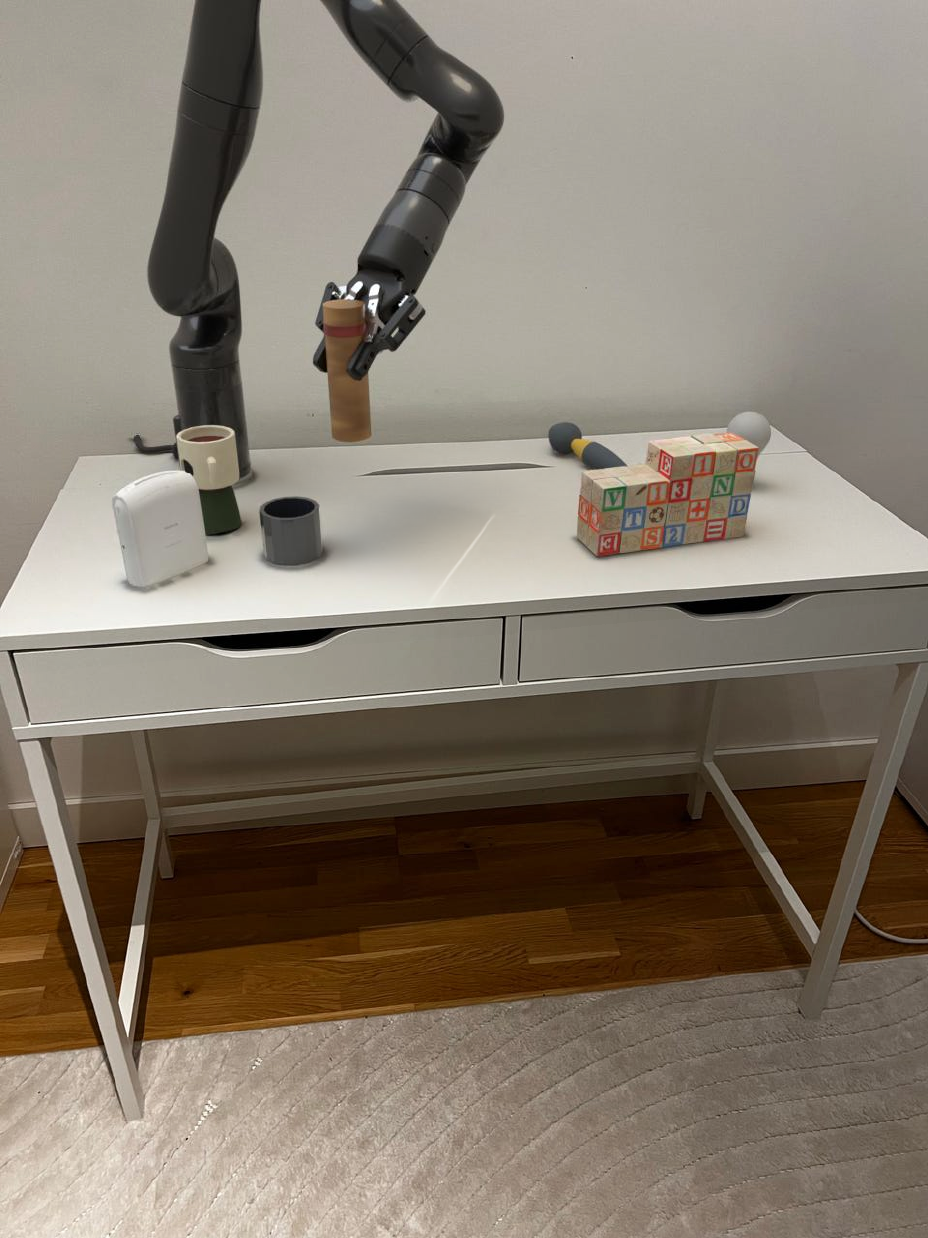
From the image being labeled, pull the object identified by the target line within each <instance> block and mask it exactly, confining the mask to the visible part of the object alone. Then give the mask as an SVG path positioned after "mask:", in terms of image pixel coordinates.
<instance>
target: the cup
mask: <svg viewBox="0 0 928 1238" xmlns="http://www.w3.org/2000/svg"><path fill="white" fill-rule="evenodd" d="M258 513H259V521H260V522H259V523H260V532H261V540H262V541H261V542H262V550H263V556H264V558H265V559H266V561H267V562H269V563H272V564H274V565H277V566H285V567H287V566H288V567H290V566H291V567H293V566H301V565H306V564H309V563H312V562H314V561H317V560H318V559H320V557H321V556H322V555H323V549H324V548H323V536H322V522H321V508H320V504H319V503H318V502H317V501H316V500H314V499H313V498H312V499H311V498H310V497H304V496H296V495H295V496H283V497H282V496H281V497H277V498H273V499H269V500H267V501H266V502H264V503H262V504H261V505H260V507H259V511H258Z"/></svg>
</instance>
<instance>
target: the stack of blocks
mask: <svg viewBox="0 0 928 1238" xmlns="http://www.w3.org/2000/svg"><path fill="white" fill-rule="evenodd" d="M758 450H759V448H758V447H757V446H755V445H753V444H752V443H750V442H748V441H747V440H744V439H743V438H741V437H739V436H737V435H735V434H733V433H726V432H723V433H714V434H713V433H710V432H709V433H700V434H693V435H691V436H689V435H687V436H678V437H671V438H665V439H664V438H663V439H655V440H649V441H648V442H647V450H646V457H645V458H646V459H645V463H642V464H635V465H634V464H633V465H627V466H622V467H614V468H605V469H598V470H595V469H590V470H582V471H581V479H580V489H579V490H580V491H579V497H578V509H577V524H576V525H577V526H576V538H577V539H578V540H579V541H580V542H581V543H582V544H583V545H585V546H586V548H587V549H588V550H589V551H591V552H592V554H594V555H595V556H596V557H601V556H609V555H615V554H625V553H633V552H638V551H646V550H654V549H661V548H665V547H673V546H680V545H688V544H695V543H701V542H710V541H718V540H726V539H733V538H734V539H735V538H742V537H744V536H745V533H746V526H747V522H748V512H749V507H750V502H751V497H752V492H753V488H754V483H755V479H756V472H757V471H756V466H757V461H758V458H757V456H758Z"/></svg>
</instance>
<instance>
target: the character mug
mask: <svg viewBox="0 0 928 1238" xmlns="http://www.w3.org/2000/svg"><path fill="white" fill-rule="evenodd" d="M176 438H177V445H178V452H179V458H178V461H179V460H180V465H179V469H180V468H181V471H185V472H186V473H190V474H191V475H192V476H193V478H194V479H195V481H196V483H197V486H198V490H199V496H200V502H201V508H202V515H203V522H204V528H205V535H206V536H210V535H215V534H221V533H226V532H229V531H230V532H231V531H233V530H235V529H238V528H240V526H241V525H242V524H243V522H242V518H241V514H240V509H239V505H238V502H237V498H236V494H235V490H234V488H233V487H232V486H234V485H233V484H235V483H236V482H237V481H238V480H239V466H238V457H237V448H236V440H235V432H234V431H233V430H232V429H231V428H228V427H225V426H217V425H204V426H197V427H191V428H188V429H185V430H183V431H181V432H179V433H178V434H177V436H176ZM176 438H175V439H176ZM231 485H232V486H231Z"/></svg>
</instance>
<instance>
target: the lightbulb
mask: <svg viewBox="0 0 928 1238" xmlns="http://www.w3.org/2000/svg"><path fill="white" fill-rule="evenodd" d="M771 427H772V426H771V425H770V423H769V420H768V419H767V418H766V417H765V416H764V415H763V414H761V413H759V412H755V411H744V412H741V413H738V414H737V415H736V416H734V417H733V418H732V419H731V420H730V422H729V423H728V425H727V428H726V432H725V433H733V434H735V435H737V436H739V437H741V438H743V439H744V440H747V441H748V442H750V443H752V444H753V445H755V446H757V447H758V448H759V450H758V456H757V459H758V458H759V457H760V455H761V454H762V453H763V451H765V448H766V447H767V446H768V444H769V443H770V440H771V437H772V428H771Z"/></svg>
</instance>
